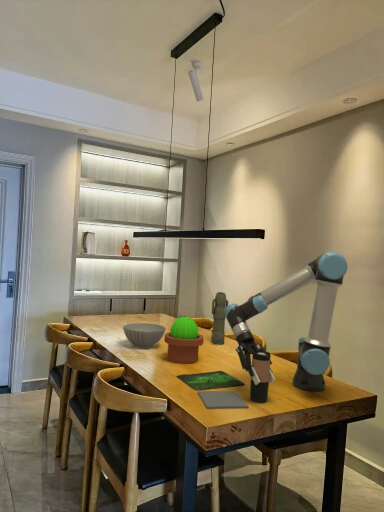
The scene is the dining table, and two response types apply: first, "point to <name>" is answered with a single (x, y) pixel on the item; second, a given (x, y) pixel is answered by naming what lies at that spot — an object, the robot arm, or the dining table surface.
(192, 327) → the potted cactus
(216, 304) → the olive grey tall piece
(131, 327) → the decorative bowl
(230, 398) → the rubber mat
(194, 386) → the mouse mat
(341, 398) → the dining table surface
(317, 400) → the dining table surface
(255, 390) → the travel mug
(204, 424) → the dining table surface
